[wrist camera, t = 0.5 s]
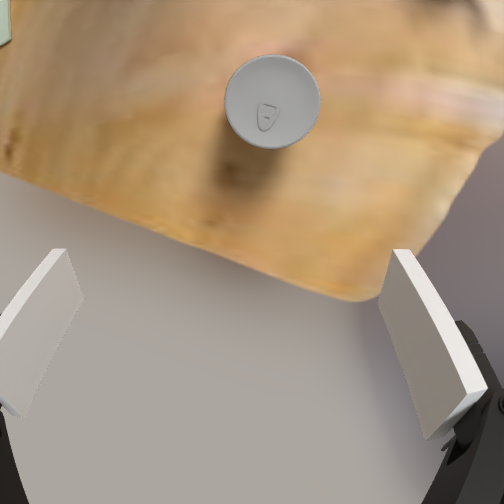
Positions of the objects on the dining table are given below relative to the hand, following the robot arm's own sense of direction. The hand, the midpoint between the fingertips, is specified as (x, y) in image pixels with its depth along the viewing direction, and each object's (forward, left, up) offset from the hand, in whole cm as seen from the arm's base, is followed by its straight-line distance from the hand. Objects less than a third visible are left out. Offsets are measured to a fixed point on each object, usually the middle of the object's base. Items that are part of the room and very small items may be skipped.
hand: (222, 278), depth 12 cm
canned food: (-5, +3, -27) cm, 27 cm away
